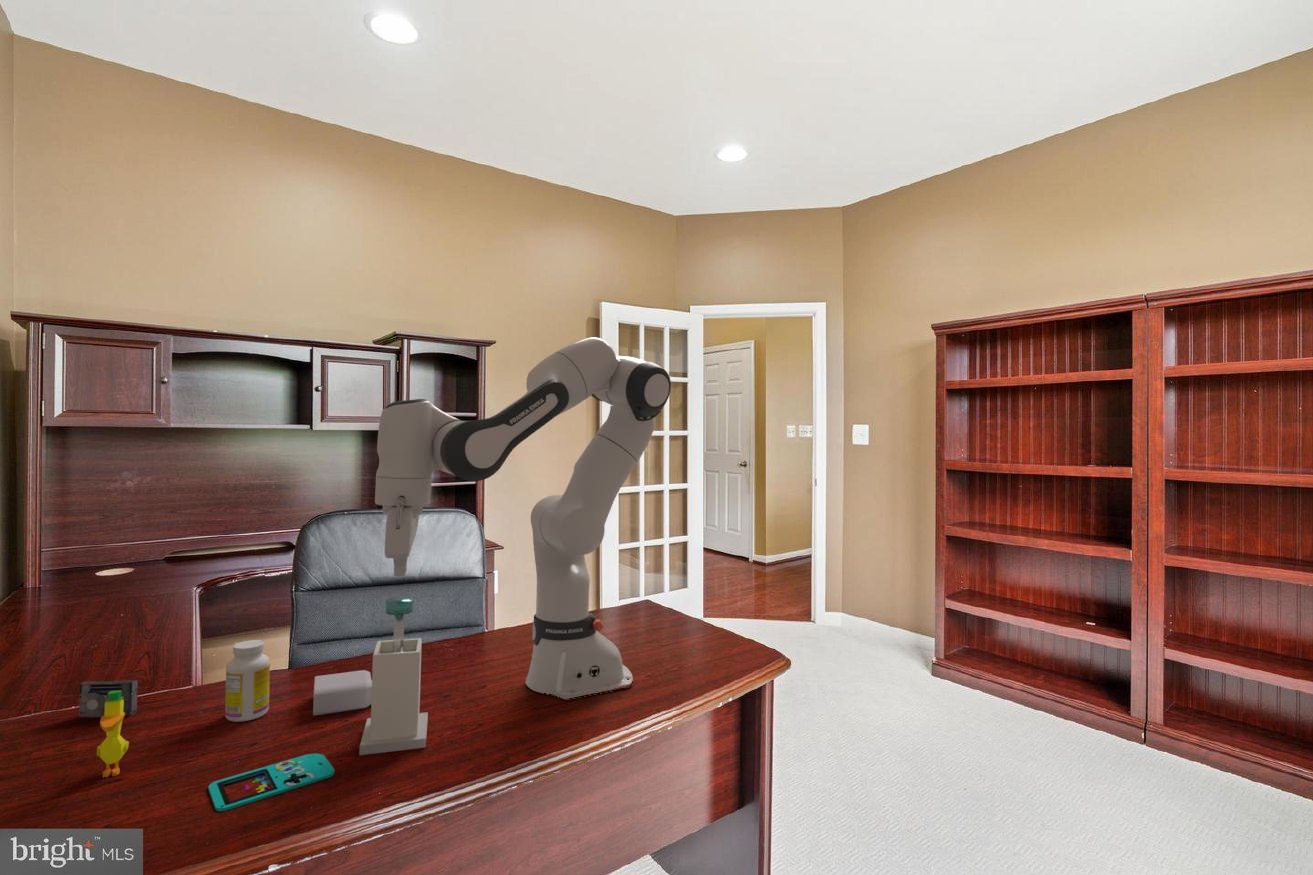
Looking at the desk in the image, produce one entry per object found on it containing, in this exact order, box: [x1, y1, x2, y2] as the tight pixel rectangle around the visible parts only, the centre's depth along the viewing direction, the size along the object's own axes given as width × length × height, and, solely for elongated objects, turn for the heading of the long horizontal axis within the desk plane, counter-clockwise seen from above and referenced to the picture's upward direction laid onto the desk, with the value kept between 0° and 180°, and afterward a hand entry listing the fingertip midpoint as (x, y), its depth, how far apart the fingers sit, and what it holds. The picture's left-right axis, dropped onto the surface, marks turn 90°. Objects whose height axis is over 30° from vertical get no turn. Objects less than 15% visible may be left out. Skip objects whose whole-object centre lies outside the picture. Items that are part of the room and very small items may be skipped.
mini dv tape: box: [78, 680, 138, 718], centre depth 112 cm, size 8×2×6 cm, turn 99°
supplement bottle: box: [224, 639, 271, 723], centre depth 113 cm, size 7×7×13 cm
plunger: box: [385, 595, 415, 653], centre depth 107 cm, size 5×5×12 cm
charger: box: [312, 669, 372, 717], centre depth 121 cm, size 5×9×15 cm
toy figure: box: [96, 690, 130, 779], centre depth 93 cm, size 7×4×12 cm, turn 32°
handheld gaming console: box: [208, 753, 335, 812], centre depth 93 cm, size 8×1×15 cm
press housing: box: [358, 637, 429, 756], centre depth 107 cm, size 10×10×16 cm
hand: (400, 574), depth 107 cm, fingers closed
